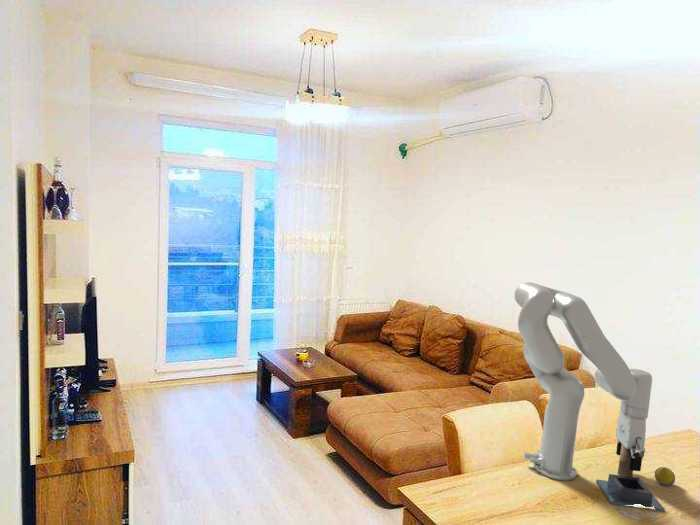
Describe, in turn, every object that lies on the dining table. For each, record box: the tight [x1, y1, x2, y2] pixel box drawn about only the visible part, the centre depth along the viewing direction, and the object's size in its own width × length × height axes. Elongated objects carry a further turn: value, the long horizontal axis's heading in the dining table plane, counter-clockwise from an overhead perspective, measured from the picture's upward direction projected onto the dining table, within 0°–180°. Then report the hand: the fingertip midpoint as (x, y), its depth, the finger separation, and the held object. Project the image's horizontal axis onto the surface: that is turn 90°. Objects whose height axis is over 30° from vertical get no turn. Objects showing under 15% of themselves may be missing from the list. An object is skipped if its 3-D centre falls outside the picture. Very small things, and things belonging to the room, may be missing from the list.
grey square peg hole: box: [595, 473, 665, 512], centre depth 146 cm, size 14×12×4 cm
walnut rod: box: [617, 444, 637, 477], centre depth 158 cm, size 4×4×10 cm
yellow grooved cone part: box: [654, 466, 676, 487], centre depth 154 cm, size 5×5×10 cm
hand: (627, 462), depth 158 cm, fingers open, 9 cm apart
